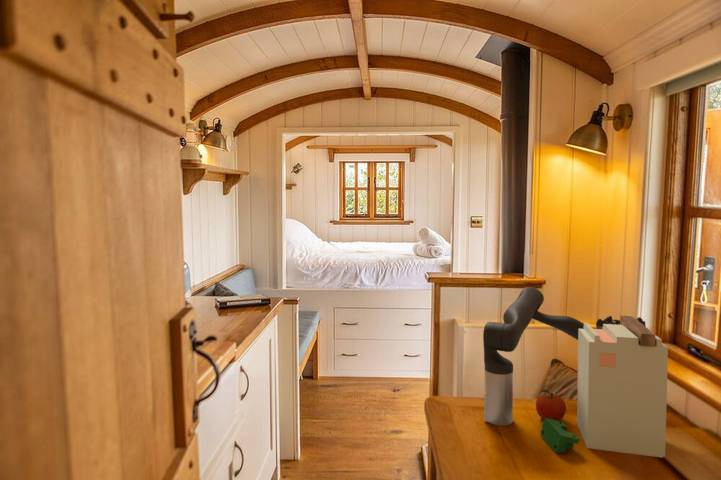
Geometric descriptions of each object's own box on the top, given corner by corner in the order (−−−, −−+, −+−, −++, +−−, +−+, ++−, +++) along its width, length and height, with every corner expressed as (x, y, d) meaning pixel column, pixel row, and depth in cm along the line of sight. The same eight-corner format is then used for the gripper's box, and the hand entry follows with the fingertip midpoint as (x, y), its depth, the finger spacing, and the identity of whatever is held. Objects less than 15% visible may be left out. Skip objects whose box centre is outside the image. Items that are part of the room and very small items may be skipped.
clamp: (569, 465, 128) (583, 445, 124) (550, 461, 128) (563, 440, 124) (556, 432, 139) (568, 412, 135) (538, 428, 139) (550, 407, 135)
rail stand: (587, 448, 129) (589, 335, 128) (577, 423, 145) (578, 322, 143) (665, 458, 123) (668, 340, 122) (645, 431, 139) (648, 326, 137)
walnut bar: (640, 345, 123) (640, 333, 123) (620, 325, 146) (620, 315, 146) (654, 346, 122) (655, 334, 122) (632, 326, 145) (632, 316, 145)
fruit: (566, 428, 142) (567, 398, 141) (535, 423, 145) (535, 393, 145) (565, 416, 150) (566, 387, 150) (535, 411, 154) (536, 383, 154)
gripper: (590, 321, 161) (600, 307, 147) (634, 324, 157) (648, 309, 143) (592, 341, 158) (602, 329, 144) (637, 344, 154) (652, 332, 140)
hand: (625, 319), depth 144 cm, fingers open, 8 cm apart
